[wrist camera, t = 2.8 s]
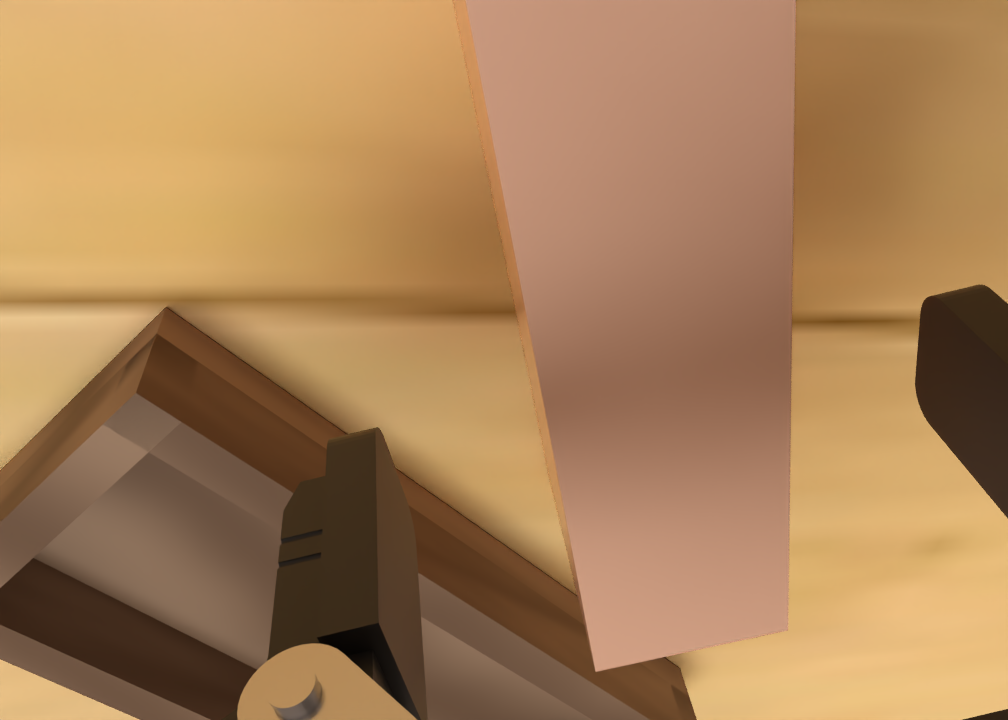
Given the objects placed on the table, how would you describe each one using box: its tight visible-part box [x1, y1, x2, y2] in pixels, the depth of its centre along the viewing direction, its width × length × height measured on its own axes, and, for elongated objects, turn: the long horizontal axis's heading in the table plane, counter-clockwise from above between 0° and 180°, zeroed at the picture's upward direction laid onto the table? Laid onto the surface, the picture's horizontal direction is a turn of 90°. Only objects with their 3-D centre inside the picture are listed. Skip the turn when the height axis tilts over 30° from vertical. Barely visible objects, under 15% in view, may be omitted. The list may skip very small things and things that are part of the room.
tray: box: [0, 308, 697, 720], centre depth 24 cm, size 8×19×3 cm, turn 42°
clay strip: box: [453, 0, 796, 672], centre depth 17 cm, size 15×4×6 cm, turn 10°
